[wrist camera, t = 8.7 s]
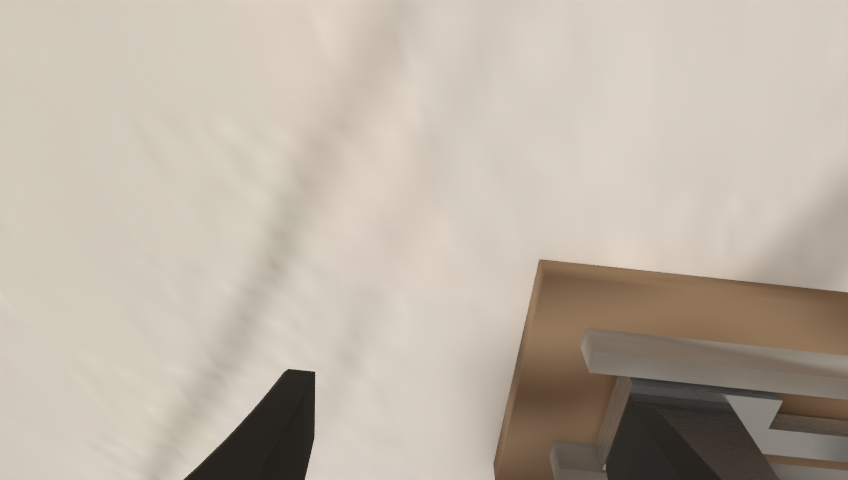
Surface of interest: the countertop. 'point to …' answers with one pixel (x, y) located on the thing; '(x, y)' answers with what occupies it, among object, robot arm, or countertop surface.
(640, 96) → the countertop surface
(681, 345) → the base
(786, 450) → the plunger
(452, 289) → the countertop surface
